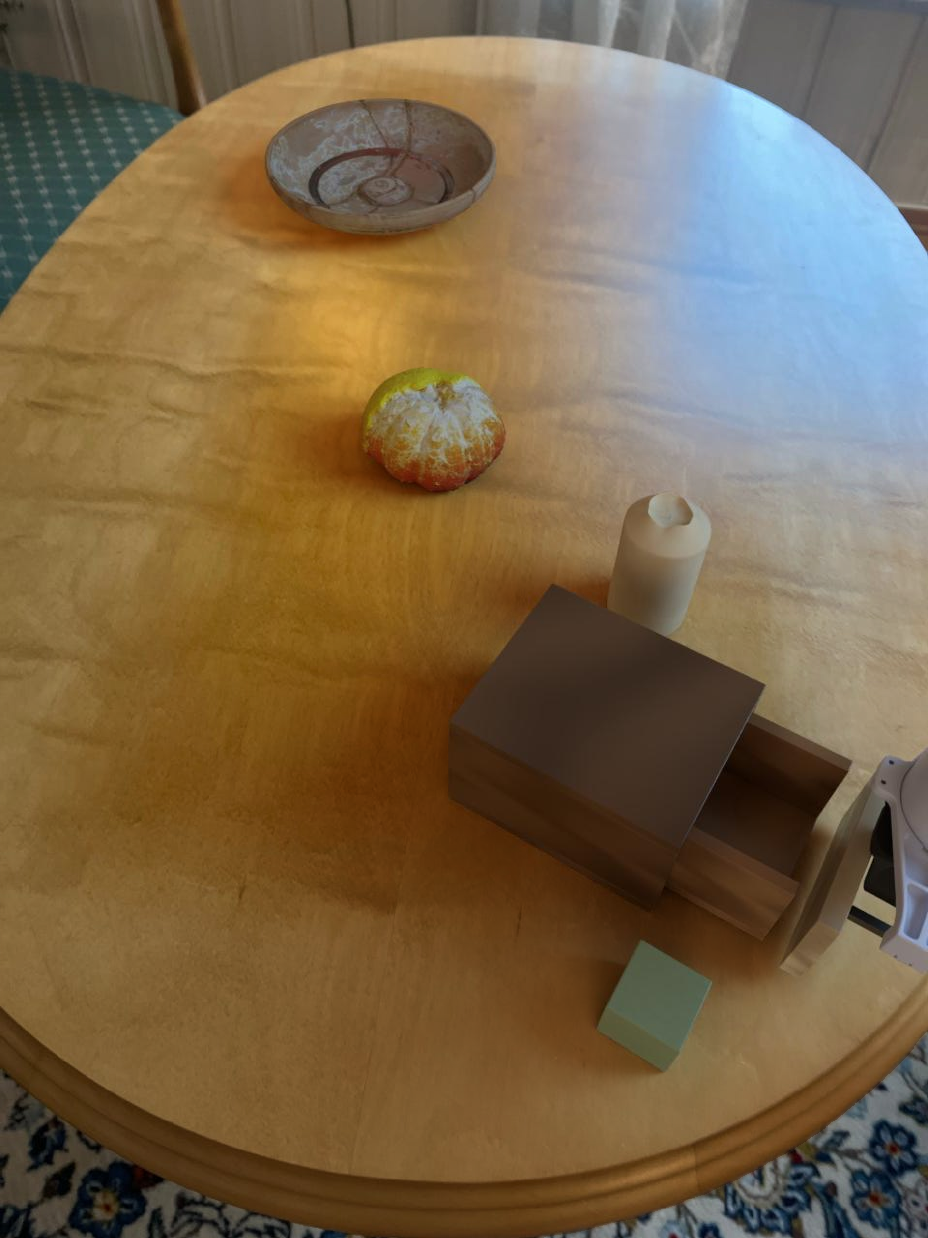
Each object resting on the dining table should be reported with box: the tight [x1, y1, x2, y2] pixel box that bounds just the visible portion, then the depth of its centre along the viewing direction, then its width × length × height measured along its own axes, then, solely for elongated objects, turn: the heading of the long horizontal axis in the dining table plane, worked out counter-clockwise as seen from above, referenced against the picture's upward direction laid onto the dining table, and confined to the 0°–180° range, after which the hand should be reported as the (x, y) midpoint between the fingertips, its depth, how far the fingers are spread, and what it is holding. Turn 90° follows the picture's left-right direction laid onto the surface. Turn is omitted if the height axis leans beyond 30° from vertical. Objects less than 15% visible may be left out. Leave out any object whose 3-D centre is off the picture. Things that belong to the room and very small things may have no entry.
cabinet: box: [447, 583, 767, 914], centre depth 56 cm, size 14×12×9 cm
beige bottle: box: [606, 491, 713, 637], centre depth 64 cm, size 6×6×10 cm
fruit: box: [361, 366, 507, 494], centre depth 75 cm, size 11×10×8 cm
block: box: [595, 939, 713, 1073], centre depth 50 cm, size 4×4×4 cm
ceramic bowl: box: [264, 97, 497, 236], centre depth 99 cm, size 23×24×5 cm
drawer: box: [665, 712, 893, 980], centre depth 53 cm, size 17×10×7 cm, turn 58°
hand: (885, 888), depth 51 cm, fingers closed, pressing on drawer
